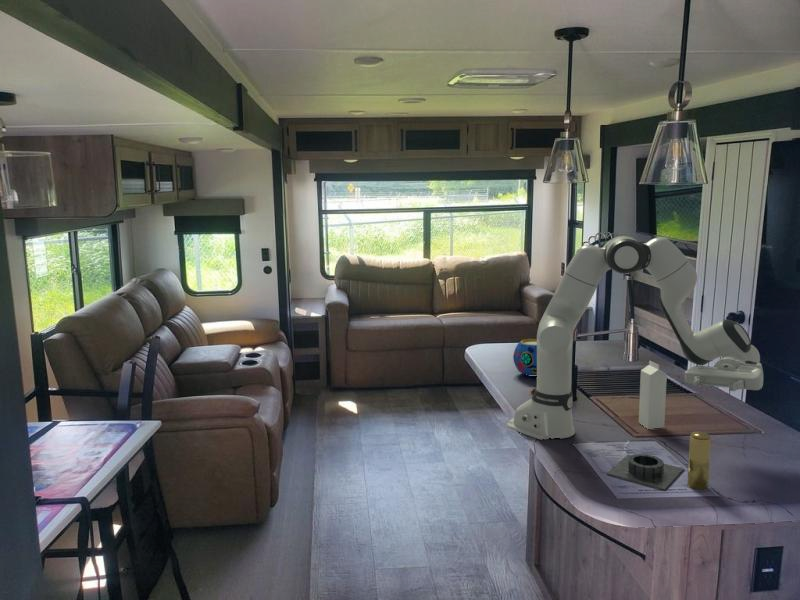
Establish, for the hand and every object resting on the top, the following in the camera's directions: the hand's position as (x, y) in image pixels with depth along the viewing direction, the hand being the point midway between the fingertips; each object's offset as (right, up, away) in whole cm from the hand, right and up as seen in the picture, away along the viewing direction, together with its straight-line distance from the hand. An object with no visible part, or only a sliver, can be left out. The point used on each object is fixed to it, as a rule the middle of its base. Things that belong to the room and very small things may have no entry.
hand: (713, 386), depth 179 cm
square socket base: (-18, -25, +2) cm, 31 cm away
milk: (-3, -18, +37) cm, 42 cm away
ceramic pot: (-30, -9, +98) cm, 103 cm away
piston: (-8, -26, -7) cm, 28 cm away
